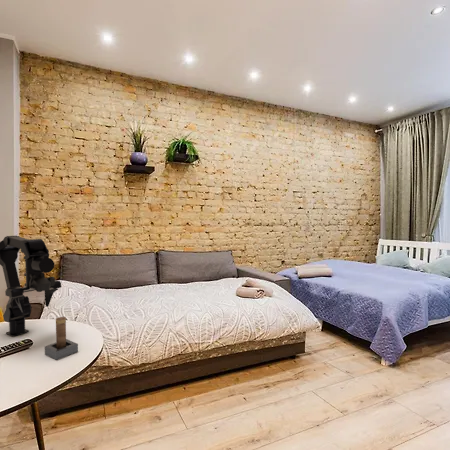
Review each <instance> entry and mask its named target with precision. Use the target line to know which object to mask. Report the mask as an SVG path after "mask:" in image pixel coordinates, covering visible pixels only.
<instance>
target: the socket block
mask: <svg viewBox="0 0 450 450" xmlns="http://www.w3.org/2000/svg"><path fill="white" fill-rule="evenodd" d="M78 352H79V344H78V343H76V342H74V341H72V340H70V339H67V338H66V347H63V348H60V349H56V342H53V343H50V344H48V345H44V355H45V356H47V357H49V358H51V359H53V360H55V361H58V360H60V359H63V358H65V357H68V356H71V355H73V354H75V353H78Z"/></svg>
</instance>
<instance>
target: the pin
mask: <svg viewBox="0 0 450 450" xmlns="http://www.w3.org/2000/svg"><path fill="white" fill-rule="evenodd" d="M66 317H67V316H66ZM66 317H65V316H59V317H56V318H55V337H56V338H55V339H56V340H55V341H56V342H55V343H56V349H60V348H63V347H66V339H67V325H66V323H67V322H66V321H67V320H66V319H67V318H66Z"/></svg>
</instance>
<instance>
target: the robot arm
mask: <svg viewBox="0 0 450 450" xmlns="http://www.w3.org/2000/svg"><path fill="white" fill-rule="evenodd" d="M19 252H22V254H24V256H23V260H25V261H24V263H25V264H24V265H25V273H24V274H23V275H24V277H25V283H24V287H21V283H20V278H19V274H18V270H17V265H16V262H17V259H18V257H19V255H18V254H19ZM0 266H1V267H2V271H3V275H4V279H5V280H4V281H5V283H6V284H5V285H6V290H5V292H4V293H5V296H6V297H8V298H9V299H8V301H7V302H6V307H5V308H6V309H5V311H4V313H3V315H2V318H3V321H4V322H6V323H8V325H9V326H8V327H9V328H8V330H9V331H6V332H5V333H6V334H7V335H8V336H11V337H16V336H19V335H22V334H25V333H26V334H27V333H29V332H30V331H29V330H28V329H26V319H27V318H30V317H31V313H32V304H31V303H30V299H29V297H28V296H27V295H26V296H25V295H24V293H27V292H32V291H34V292H35V291H36V292H38V293H42V292H44V301H45V306H46V307H49V306H50V304H51V303H50V302H51V300H52V297H53V295H54V294H55V292H57V291H58V290H59V289H60V288H62V283H61V280H56V279H55V277H54V276H48V277H46V276H45V274H47V273H51V272H52V271H53V270H54V268H55V261H54V260H53V259H52V258H50V250H49V249H48V247H47V246H46V243H45V241H44V240H43V239H42V238H35V239H28V238H25V237H21V236H19V235H6V236H4V238H3V240H1V241H0Z"/></svg>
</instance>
